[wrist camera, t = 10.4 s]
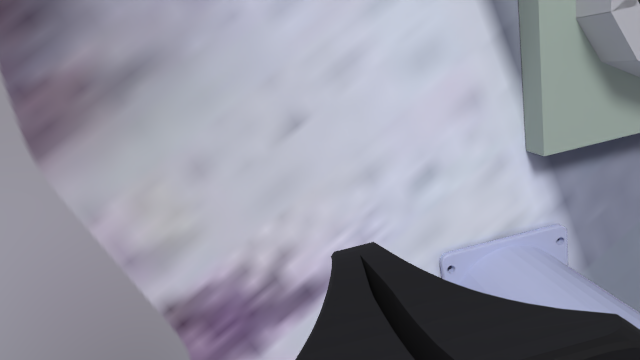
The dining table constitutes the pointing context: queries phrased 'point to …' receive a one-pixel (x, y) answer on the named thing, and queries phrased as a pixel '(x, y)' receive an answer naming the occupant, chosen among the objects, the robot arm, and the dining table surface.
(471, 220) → the dining table surface
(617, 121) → the mount board
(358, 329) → the robot arm
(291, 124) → the dining table surface
